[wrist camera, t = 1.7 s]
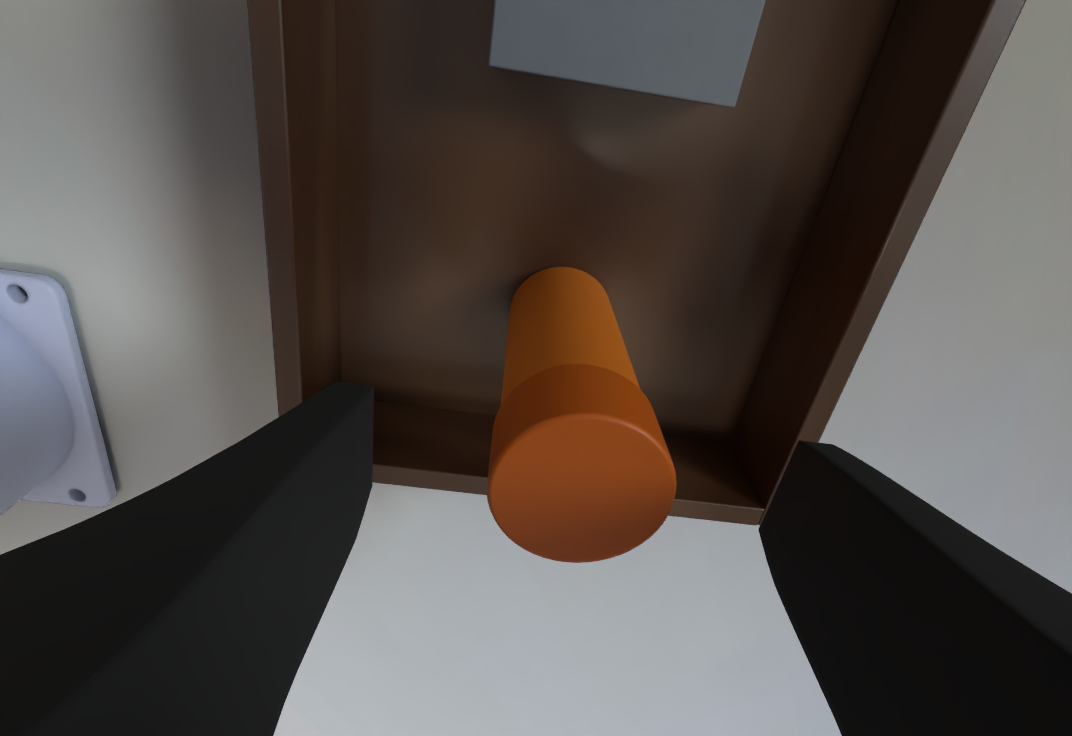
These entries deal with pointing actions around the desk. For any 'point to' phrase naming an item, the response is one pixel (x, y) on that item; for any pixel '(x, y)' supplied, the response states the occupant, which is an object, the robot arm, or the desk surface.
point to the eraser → (631, 44)
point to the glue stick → (574, 429)
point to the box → (600, 219)
